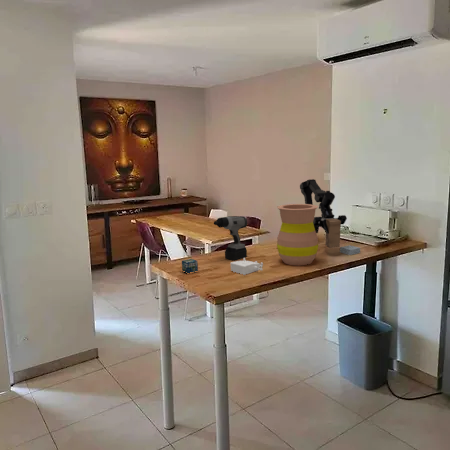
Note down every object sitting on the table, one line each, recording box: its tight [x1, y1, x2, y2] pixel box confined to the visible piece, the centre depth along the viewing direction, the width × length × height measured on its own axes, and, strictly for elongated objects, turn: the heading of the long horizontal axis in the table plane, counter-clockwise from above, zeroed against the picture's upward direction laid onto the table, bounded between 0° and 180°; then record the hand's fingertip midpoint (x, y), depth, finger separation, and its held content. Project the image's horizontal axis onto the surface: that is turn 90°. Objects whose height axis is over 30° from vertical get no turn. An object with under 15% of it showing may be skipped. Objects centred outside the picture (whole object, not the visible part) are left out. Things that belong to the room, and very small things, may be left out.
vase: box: [276, 203, 319, 266], centre depth 228 cm, size 22×22×30 cm
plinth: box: [339, 244, 361, 256], centre depth 245 cm, size 8×8×3 cm
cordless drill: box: [213, 215, 248, 262], centre depth 237 cm, size 8×24×25 cm, turn 137°
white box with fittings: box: [230, 257, 264, 276], centre depth 218 cm, size 8×20×16 cm
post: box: [324, 219, 342, 249], centre depth 238 cm, size 6×6×15 cm
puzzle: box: [181, 258, 199, 273], centre depth 218 cm, size 6×6×6 cm
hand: (333, 232), depth 237 cm, fingers closed on post, 6 cm apart
